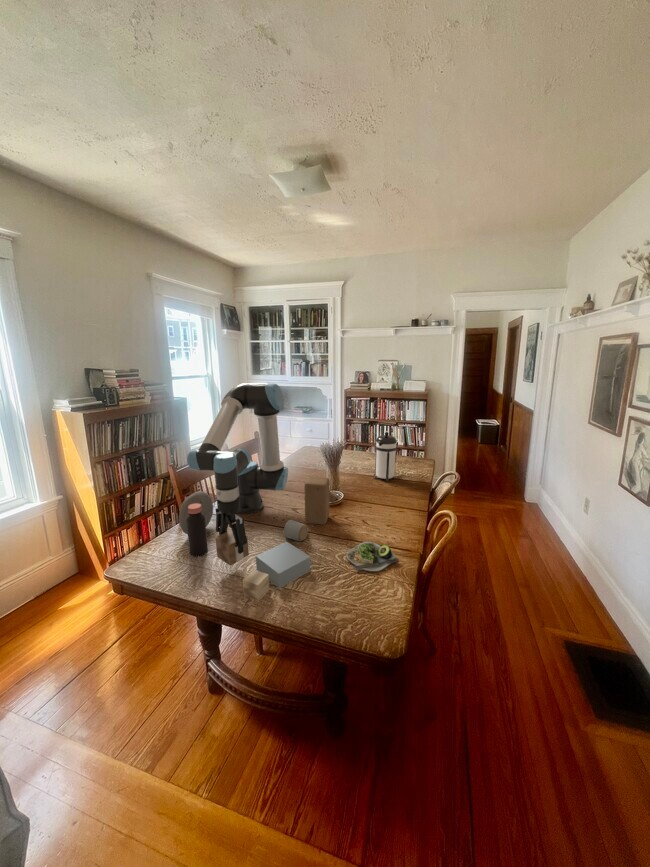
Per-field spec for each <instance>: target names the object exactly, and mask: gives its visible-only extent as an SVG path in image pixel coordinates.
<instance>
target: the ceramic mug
mask: <svg viewBox="0 0 650 867" xmlns="http://www.w3.org/2000/svg"><path fill="white" fill-rule="evenodd" d="M308 531H309V530H308V525H305V524H304V523H301V522H298V521H295V520H293V519H289V520H288V521H287V522H286V523H285V525H284V528H283V536H284V537H285V538H287V539H290V540H293V541H297V542H302V541H304V540H305V539H306V538H307V534H308V533H309V532H308Z"/></svg>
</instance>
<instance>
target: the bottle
mask: <svg viewBox="0 0 650 867" xmlns="http://www.w3.org/2000/svg"><path fill="white" fill-rule="evenodd" d="M201 512H202V507H201V504H198V503H195V504H191V505H189V506H188V513H189V516H188V517H187V520H186V522H187V531H188V535H187V542H188V547H189V548H188V549H189V555H190V556H192V557H196V558H197V557H202V556H204V555H206V554H207V552H208V550H209V548H208V536H207V535H208V534H207V527H206V523H205V516H204V515H203V514H202V513H201Z"/></svg>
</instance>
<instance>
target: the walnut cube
mask: <svg viewBox="0 0 650 867" xmlns="http://www.w3.org/2000/svg"><path fill="white" fill-rule="evenodd" d="M248 536H249V535H247V534H246V538H247V544H245V545H243V550H244V551H243V556H244V559H245V558H247V557H248V556H249V555H250V553H249V551H250V550H249V539H248ZM235 545H236V542H235V539H234V535H233V532H232V529H229V530H227V532H225V533H223V534H221V535H218V536H217V535H216V536H215V547H216V557H217V558H218V559H220V560H221V561H223V562H224V563H226V564H227V565H228V566H230V567H231V566H232V565H234V564H236V563H237V562H236V553H235Z"/></svg>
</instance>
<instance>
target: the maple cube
mask: <svg viewBox="0 0 650 867" xmlns="http://www.w3.org/2000/svg"><path fill="white" fill-rule="evenodd" d="M269 590H270V580H269V574H266V573H263V572H260V571H257V569H253V570H251V571H250V572H249V573H248V574H247V575H246V576H245V577H244V578H243V579H242V591H243V597H246V598H249V599H252V600H254V601H257V602H260V600H261V599H262V598H263V597H264V596H265V595H267V593H268V592H269Z"/></svg>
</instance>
